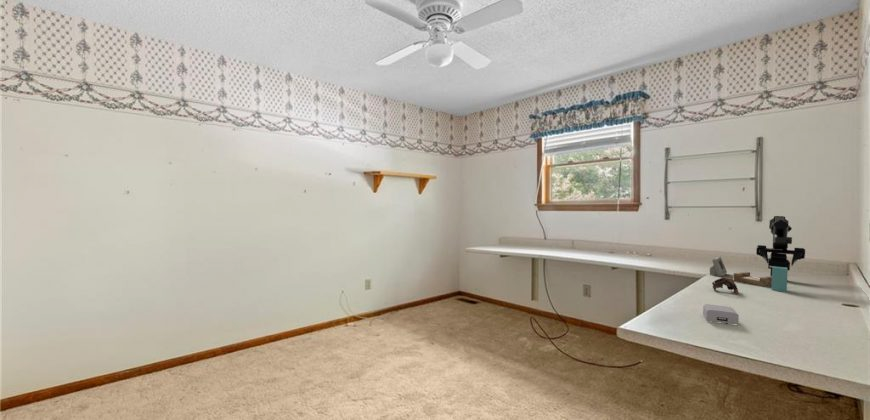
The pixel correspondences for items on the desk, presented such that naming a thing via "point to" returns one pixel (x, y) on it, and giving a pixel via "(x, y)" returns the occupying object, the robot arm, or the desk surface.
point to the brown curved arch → (727, 282)
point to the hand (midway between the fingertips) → (779, 264)
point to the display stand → (752, 279)
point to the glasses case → (779, 278)
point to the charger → (720, 314)
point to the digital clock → (718, 267)
